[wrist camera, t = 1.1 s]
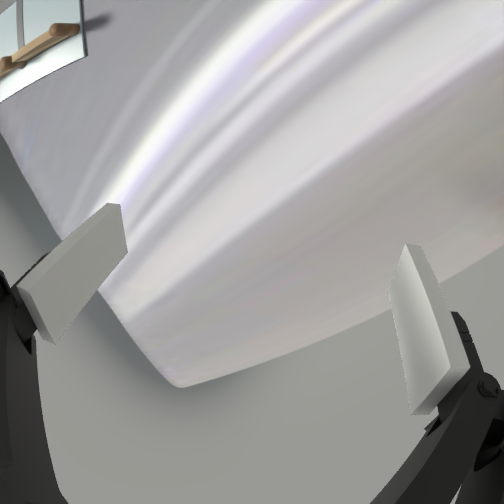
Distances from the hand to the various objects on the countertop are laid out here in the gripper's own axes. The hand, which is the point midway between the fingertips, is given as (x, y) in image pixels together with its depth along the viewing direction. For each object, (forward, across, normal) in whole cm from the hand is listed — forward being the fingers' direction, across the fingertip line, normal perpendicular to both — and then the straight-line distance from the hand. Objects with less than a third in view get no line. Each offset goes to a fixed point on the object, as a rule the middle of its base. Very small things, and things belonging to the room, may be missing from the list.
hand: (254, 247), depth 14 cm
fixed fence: (+25, -37, +15) cm, 47 cm away
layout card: (+26, -44, +18) cm, 54 cm away
